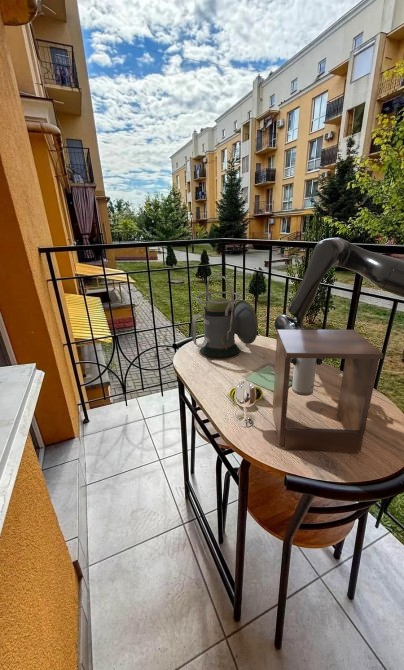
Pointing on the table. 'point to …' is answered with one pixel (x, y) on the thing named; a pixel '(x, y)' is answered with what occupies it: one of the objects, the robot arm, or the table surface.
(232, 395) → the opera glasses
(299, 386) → the travel mug
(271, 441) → the table surface
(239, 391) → the wineglass
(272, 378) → the green square mat
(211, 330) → the lantern
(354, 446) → the cabinet
